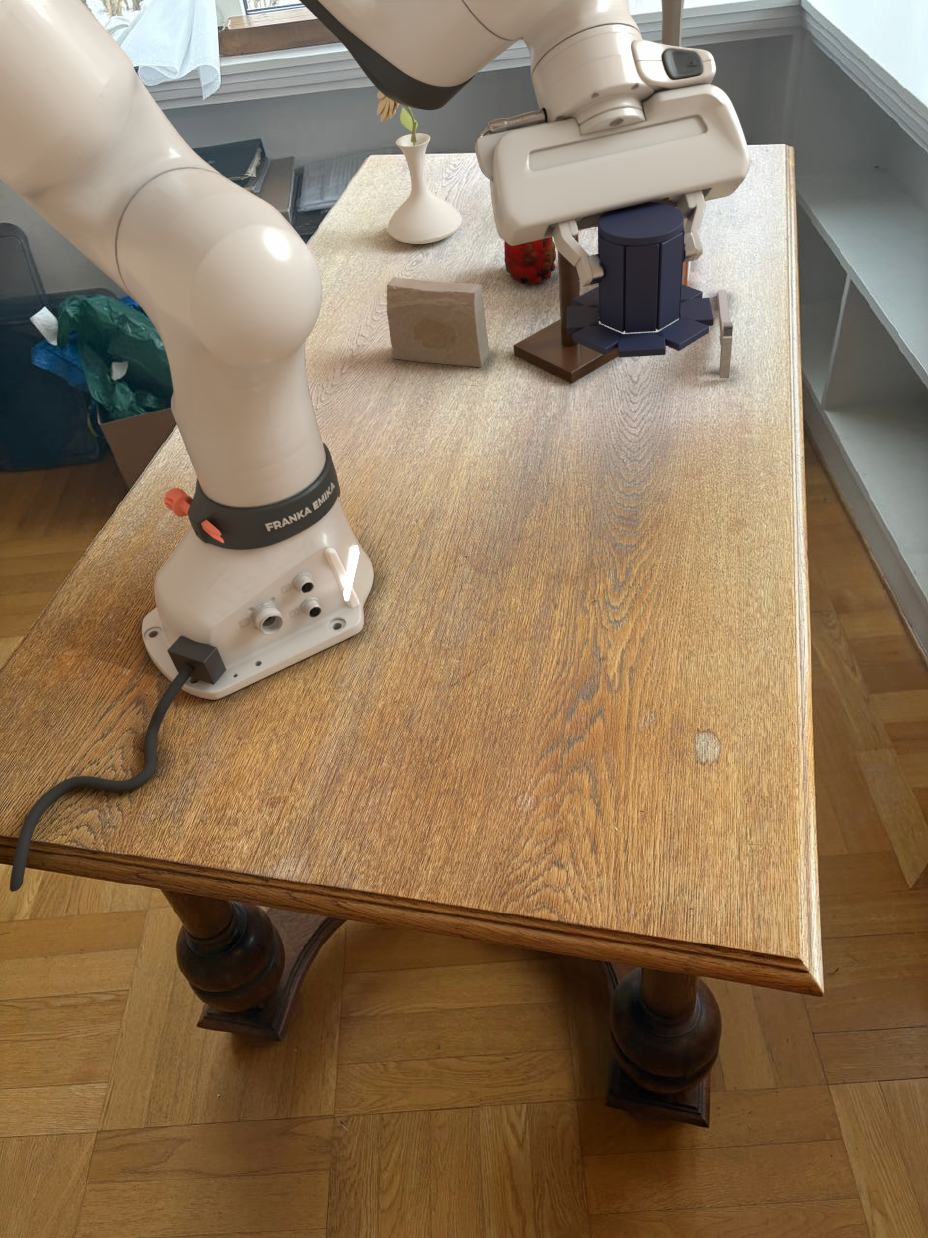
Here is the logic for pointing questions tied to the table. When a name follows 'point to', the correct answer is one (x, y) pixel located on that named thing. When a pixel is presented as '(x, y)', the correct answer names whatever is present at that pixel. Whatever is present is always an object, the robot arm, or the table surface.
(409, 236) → the flower in vase
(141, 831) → the table surface
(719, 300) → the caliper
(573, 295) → the hat stand
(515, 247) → the red fruit with stem
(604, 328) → the hat
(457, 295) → the fossil
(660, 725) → the table surface
